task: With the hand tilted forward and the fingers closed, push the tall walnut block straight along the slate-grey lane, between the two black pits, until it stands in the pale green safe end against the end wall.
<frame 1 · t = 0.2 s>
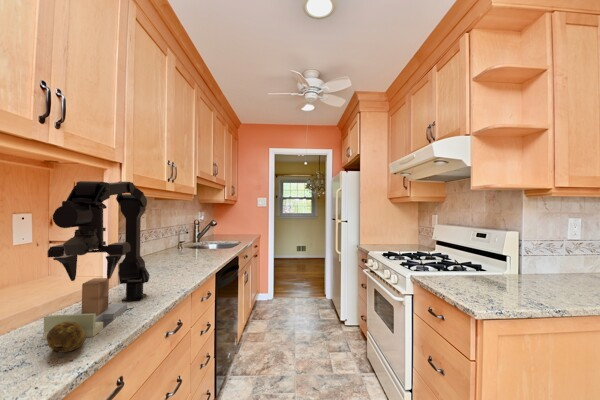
hand: (91, 279, 79), 15 cm above the countertop, tool pointing down, fingers open, 9 cm apart
walnut block: (95, 312, 87), point 2 cm above the countertop, touching trap board
trap board: (90, 322, 84), on the countertop
potato: (67, 351, 68), on the countertop
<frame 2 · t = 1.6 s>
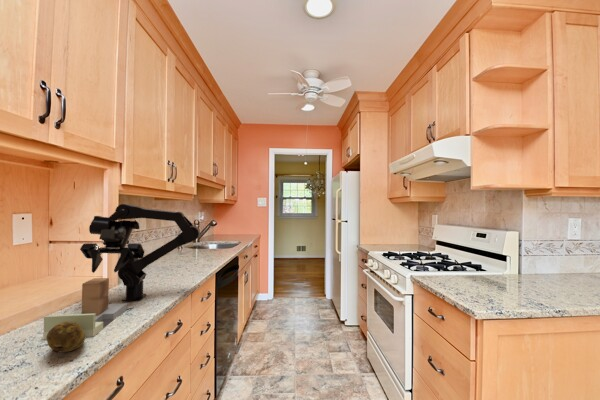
hand: (103, 271, 92), 14 cm above the countertop, tool tilted 45°, fingers open, 6 cm apart
nothing on the countertop moved.
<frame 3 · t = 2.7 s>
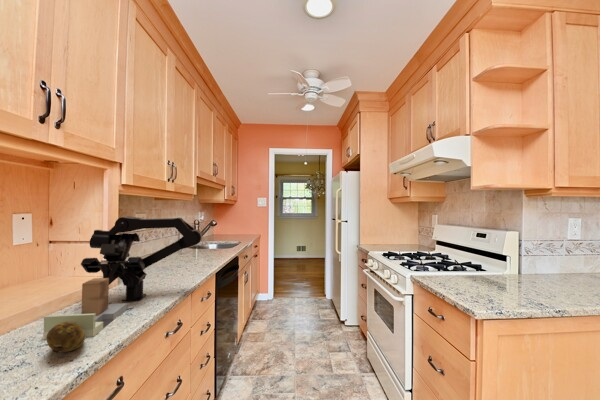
hand: (104, 286, 92), 9 cm above the countertop, tool tilted 45°, fingers closed
nothing on the countertop moved.
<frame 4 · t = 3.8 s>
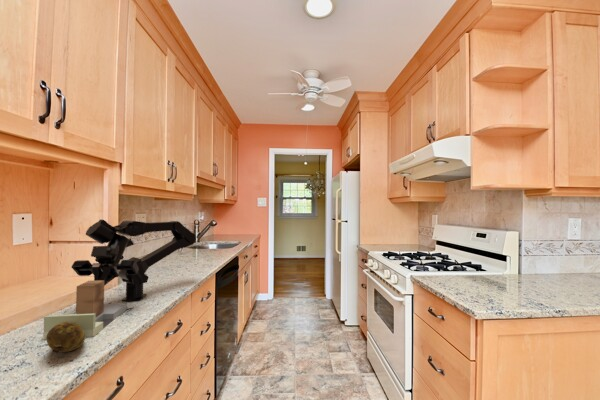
hand: (95, 290, 87), 9 cm above the countertop, tool tilted 45°, fingers closed, pressing on walnut block
walnut block: (90, 316, 84), point 2 cm above the countertop, touching gripper
everything else where it was.
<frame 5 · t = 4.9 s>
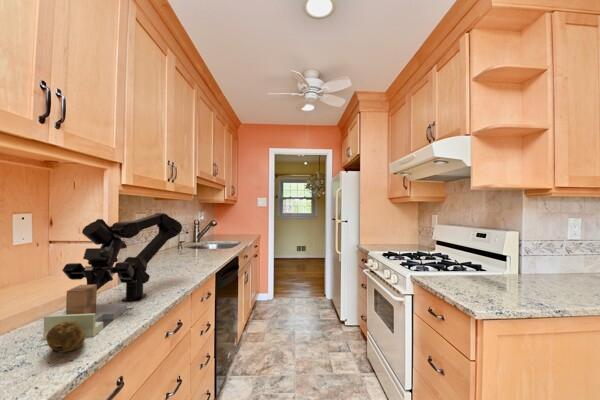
hand: (88, 295, 83), 9 cm above the countertop, tool tilted 45°, fingers closed, pressing on walnut block
walnut block: (81, 322, 80), point 2 cm above the countertop, touching gripper, trap board
everything else where it was.
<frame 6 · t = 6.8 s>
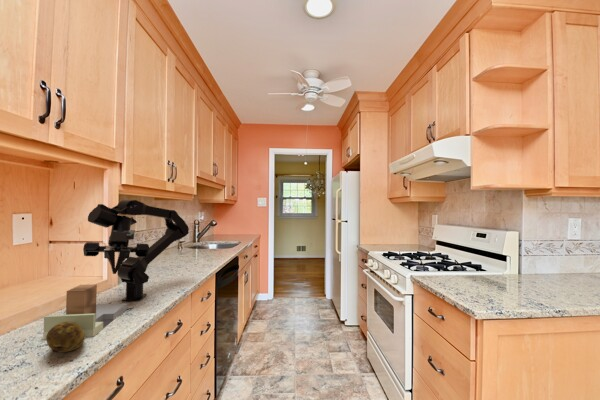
hand: (114, 273, 92), 13 cm above the countertop, tool tilted 35°, fingers closed
walnut block: (81, 322, 80), point 2 cm above the countertop, touching trap board
everything else where it was.
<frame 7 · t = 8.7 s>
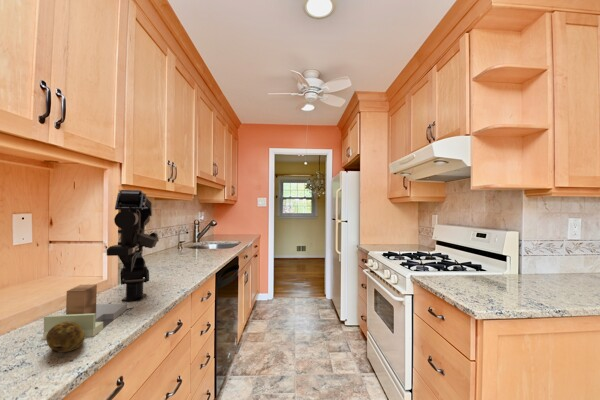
hand: (129, 271, 94), 13 cm above the countertop, tool pointing down, fingers closed
nothing on the countertop moved.
at the end: walnut block 1.8 cm from the target spot, point 2.0 cm above the countertop; walnut block tilted 0° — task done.
